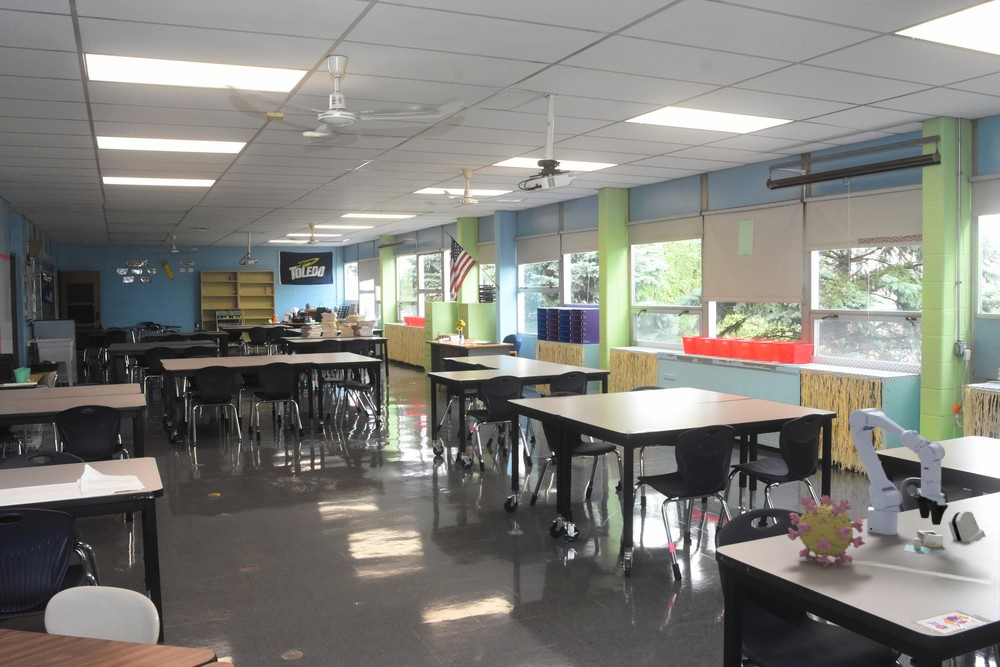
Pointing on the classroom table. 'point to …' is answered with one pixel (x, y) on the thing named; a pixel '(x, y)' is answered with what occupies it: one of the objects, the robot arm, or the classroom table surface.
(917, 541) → the stand
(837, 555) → the educational model
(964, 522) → the hinge
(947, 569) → the classroom table surface
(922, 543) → the hub
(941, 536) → the hollow square metal tube
